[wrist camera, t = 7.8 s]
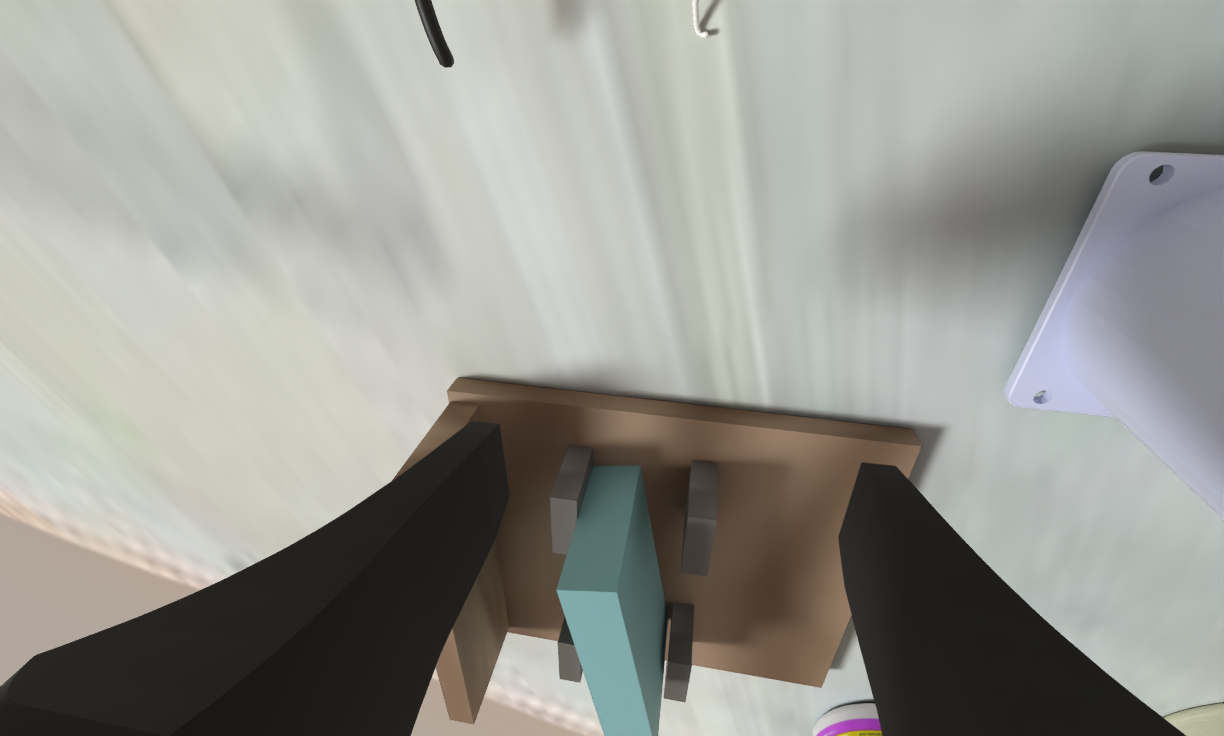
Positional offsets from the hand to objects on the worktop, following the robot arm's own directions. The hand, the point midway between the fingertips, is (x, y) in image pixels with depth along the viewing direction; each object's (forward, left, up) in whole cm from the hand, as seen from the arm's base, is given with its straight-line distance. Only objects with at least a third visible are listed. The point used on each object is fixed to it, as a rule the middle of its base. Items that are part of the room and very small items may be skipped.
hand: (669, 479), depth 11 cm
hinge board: (0, +13, -9) cm, 16 cm away
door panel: (+1, +12, -8) cm, 15 cm away
